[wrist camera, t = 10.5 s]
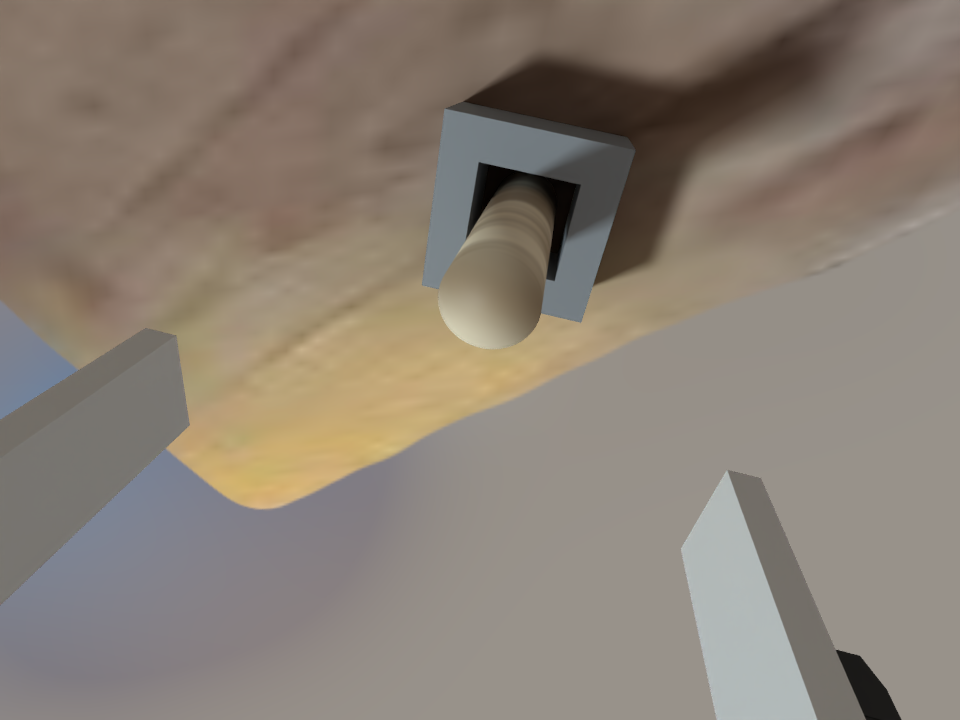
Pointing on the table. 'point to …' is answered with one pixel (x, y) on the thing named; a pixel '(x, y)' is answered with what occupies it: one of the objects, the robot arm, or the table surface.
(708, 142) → the table surface
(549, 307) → the socket
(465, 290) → the peg
